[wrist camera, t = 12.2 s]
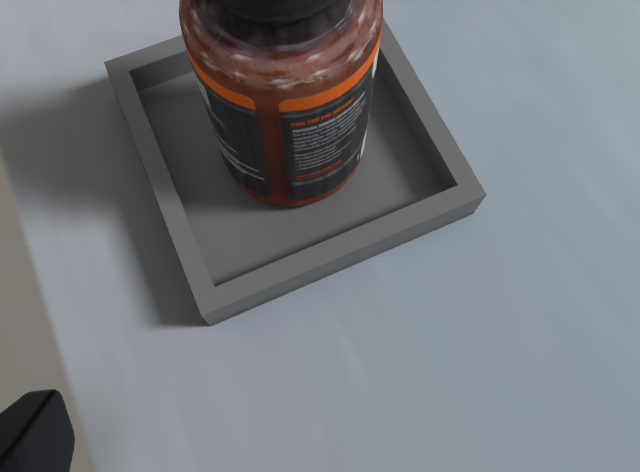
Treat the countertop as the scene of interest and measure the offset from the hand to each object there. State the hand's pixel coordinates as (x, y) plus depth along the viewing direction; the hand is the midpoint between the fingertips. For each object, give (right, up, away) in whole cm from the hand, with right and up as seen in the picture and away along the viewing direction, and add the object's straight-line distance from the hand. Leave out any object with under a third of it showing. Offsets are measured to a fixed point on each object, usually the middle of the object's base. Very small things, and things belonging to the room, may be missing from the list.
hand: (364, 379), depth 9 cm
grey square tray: (-2, +6, +16) cm, 18 cm away
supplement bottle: (-2, +6, +16) cm, 17 cm away
